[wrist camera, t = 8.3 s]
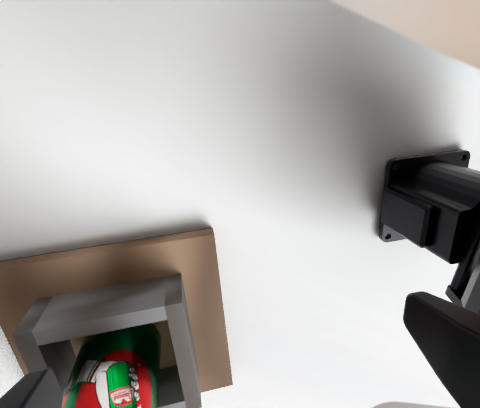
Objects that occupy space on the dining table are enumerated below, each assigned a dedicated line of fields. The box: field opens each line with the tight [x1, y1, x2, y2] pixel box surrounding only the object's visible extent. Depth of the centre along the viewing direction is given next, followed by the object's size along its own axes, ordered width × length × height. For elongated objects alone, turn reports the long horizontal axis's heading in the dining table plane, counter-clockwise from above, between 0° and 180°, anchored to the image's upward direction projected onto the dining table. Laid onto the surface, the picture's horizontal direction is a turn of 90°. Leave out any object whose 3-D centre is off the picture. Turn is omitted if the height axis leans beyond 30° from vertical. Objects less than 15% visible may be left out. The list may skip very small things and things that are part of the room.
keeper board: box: [0, 228, 233, 408], centre depth 20 cm, size 14×14×4 cm
